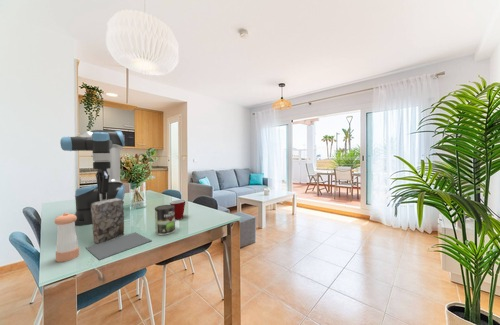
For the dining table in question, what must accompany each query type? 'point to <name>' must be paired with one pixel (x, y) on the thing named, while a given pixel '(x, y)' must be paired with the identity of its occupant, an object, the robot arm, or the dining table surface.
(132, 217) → the dining table surface
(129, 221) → the dining table surface
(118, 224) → the stone block
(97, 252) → the mat
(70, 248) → the salt shaker
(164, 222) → the coffee can
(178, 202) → the plastic cup
